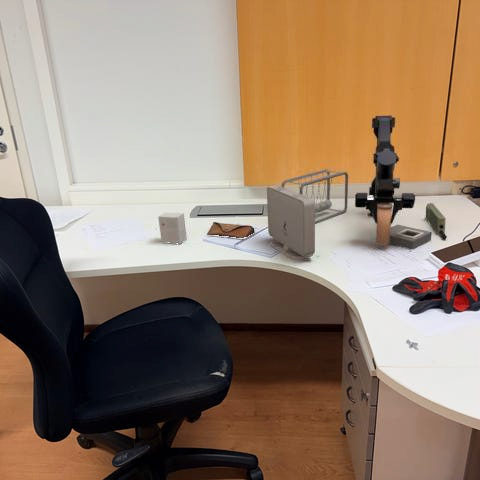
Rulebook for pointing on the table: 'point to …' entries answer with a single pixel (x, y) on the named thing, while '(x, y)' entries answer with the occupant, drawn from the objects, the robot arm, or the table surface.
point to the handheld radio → (436, 219)
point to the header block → (408, 236)
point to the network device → (291, 221)
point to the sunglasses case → (231, 230)
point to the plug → (383, 222)
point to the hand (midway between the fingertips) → (383, 223)
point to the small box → (172, 227)
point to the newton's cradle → (327, 202)
